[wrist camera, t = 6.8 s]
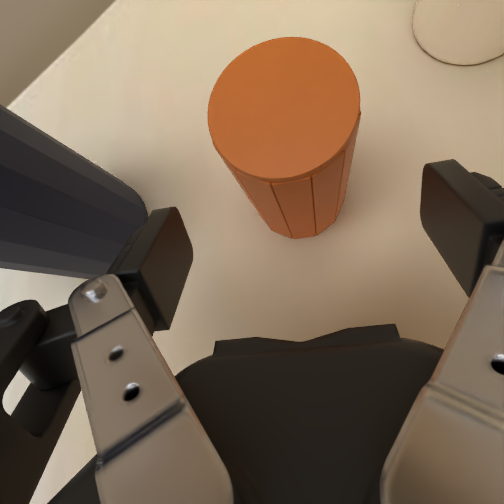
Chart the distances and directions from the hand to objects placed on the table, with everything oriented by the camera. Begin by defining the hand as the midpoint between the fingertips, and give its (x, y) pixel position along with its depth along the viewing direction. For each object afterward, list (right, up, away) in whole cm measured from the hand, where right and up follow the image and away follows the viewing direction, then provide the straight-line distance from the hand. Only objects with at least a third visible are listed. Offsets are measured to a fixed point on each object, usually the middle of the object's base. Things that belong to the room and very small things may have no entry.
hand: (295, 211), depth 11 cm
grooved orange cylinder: (+1, +2, +9) cm, 9 cm away
